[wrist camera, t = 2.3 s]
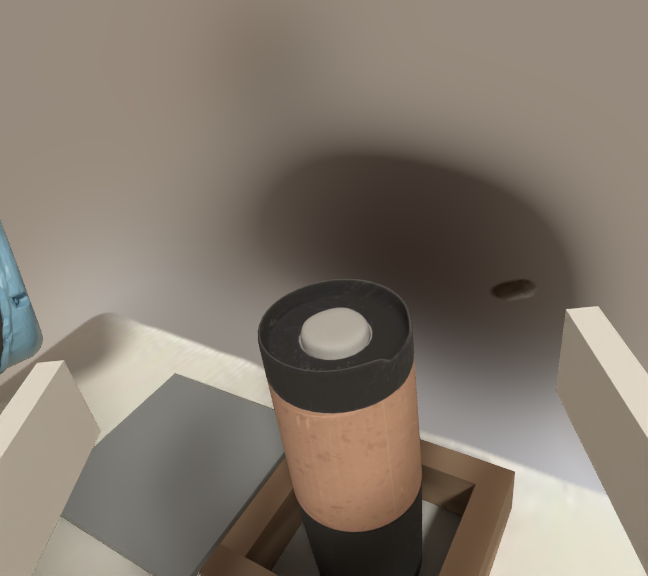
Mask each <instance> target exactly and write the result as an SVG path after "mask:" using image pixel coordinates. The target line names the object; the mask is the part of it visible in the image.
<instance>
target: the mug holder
mask: <svg viewBox="0 0 648 576" xmlns="http://www.w3.org/2000/svg"><path fill="white" fill-rule="evenodd" d="M420 451H421V466H422V499H423V500H425V501H428V502H430V503H433V504H435V505H438V506H440V507H443V508H445V509H448V510H450V511H453V512H455V513H458V514H460V515H463V517H462V519H461V522H460V524H459V527H458V529H457V532H456V534H455V536H454V539H453V541H452V544H451V546H450V549H449V551H448V554H447V556H446V559H445V561H444V564H443V566H442V568H441V571H440V573H439V576H489V574H490V571H491V568H492V565H493V562H494V559H495V556H496V553H497V550H498V547H499V544H500V541H501V538H502V535H503V532H504V529H505V526H506V523H507V520H508V517H509V514H510V511H511V508H512V498H513V487H514V476H515V472H514V471H511V470H509V469H506V468H503V467H500V466H497V465H494V464H491V463H488V462H485V461H482V460H479V459H476V458H474V457H471V456H468V455H465V454H462V453H459V452H456V451H453V450H450V449H447V448H444V447H441V446H438V445H436V444H433V443H430V442H427V441H424V440H421V439H420ZM302 521H303V519H302V515H301V512H300V509H299V506H298V503H297V499H296V496H295V493H294V488H293V484H292V480H291V476H290V472H289V468H288V464H287V459H286V457H285V458H284V459H283V461H282V462H281V463H280V465H279V466H278V467H277V469H276V470H275V471H274V473H273V474H272V475H271V477H270V478H269V479H268V481H267V482H266V483H265V485H264V486H263V487H262V488H261V490H260V491H259V492H258V494H257V495H256V496H255V498H254V499H253V500H252V502H251V503H250V504H249V506H248V507H247V508H246V510H245V511H244V512H243V514H242V515H241V516H240V518H239V519H238V520H237V522H236V523H235V524H234V526H233V527H232V528H231V530H230V531H229V532H228V534H227V535H226V536H225V538H224V539H223V540H222V542H221V543H220V544H219V546H218V547H217V548H216V550H215V551H214V552H213V554H212V555H211V556H210V558H209V559H208V560H207V562H206V563H205V564H204V566H203V567H202V568H201V570H200V571H199V572H200V574H201V576H278V575H276V574H275V573H273V572H271V569H272V568H273V566H274V565H275V563H276V561H277V560H278V558H279V557H280V555H281V554H282V552H283V551H284V549H285V548H286V546H287V545H288V543H289V541H290V540H291V538H292V537H293V535H294V534H295V532H296V531H297V529H298V528H299V526H300V525H301V523H302Z"/></svg>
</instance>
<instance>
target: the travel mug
mask: <svg viewBox="0 0 648 576" xmlns="http://www.w3.org/2000/svg"><path fill="white" fill-rule="evenodd" d="M258 342H259V347H260V352H261V356H262V360H263V364H264V368H265V373H266V377H267V381H268V385H269V389H270V393H271V397H272V401H273V406H274V410H275V414H276V418H277V422H278V426H279V430H280V435H281V439H282V443H283V447H284V451H285V455H286V459H287V464H288V468H289V472H290V476H291V480H292V484H293V488H294V493H295V496H296V499H297V503H298V506H299V509H300V512H301V515H302V519H303V522H304V525H305V528H306V532H307V535H308V538H309V541H310V544H311V548H312V551H313V554H314V557H315V560H316V563H317V566H318V569H319V572H320V575H321V576H418V574H419V571H420V568H421V561H422V466H421V451H420V436H419V423H418V407H417V392H416V376H415V361H414V347H413V331H412V318H411V314H410V311H409V309H408V306H407V305H406V303H405V302H404V300H403V299H402V298H401V297H400V296H399V295H398V294H397V293H395V292H394V291H392V290H391V289H389V288H387V287H385V286H382V285H380V284H377V283H373V282H369V281H365V280H356V279H336V280H328V281H321V282H318V283H313V284H310V285H307V286H304V287H301V288H299V289H296V290H294V291H292V292H290V293H288V294H286V295H285V296H284V297H282V298H280V299H279V300H278V301H276V302H275V303H274V304H273V305H272V306H271V307H270V308H269V309H268V310H267V311H266V313H265V314H264V316H263V317H262V320H261V322H260V325H259V329H258Z"/></svg>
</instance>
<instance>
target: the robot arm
mask: <svg viewBox="0 0 648 576" xmlns="http://www.w3.org/2000/svg"><path fill="white" fill-rule="evenodd" d="M42 340H43V337H42V333H41V329H40V327H39V324H38V321H37V319H36V316H35V313H34V310H33V308H32V305H31V302H30V300H29V297H28V294H27V291H26V288H25V286H24V283H23V280H22V277H21V275H20V271H19V269H18V266H17V263H16V261H15V258H14V255H13V252H12V250H11V247H10V244H9V242H8V239H7V236H6V234H5V231H4V229H3V226H2V223H1V221H0V374H1V373H3V372H4V371H5V370H6V369H7V368H8V367H11V366H13V365H15V364H17V363H19V362H22V361H23V360H26V359H29V358H31V357H32V356H34V355H35V354H36V353H37V352H38V351H39V349H40V348H41V345H42ZM556 392H557V394H558V396H559V398H560V400H561V402H562V404H563V406H564V408H565V410H566V412H567V415H568V417H569V418H570V420H571V423H572V425H573V426H574V429H575V431H576V433H577V434H578V437H579V439H580V441H581V443H582V445H583V447H584V449H585V451H586V453H587V454H588V457H589V459H590V461H591V463H592V465H593V467H594V469H595V471H596V473H597V475H598V477H599V479H600V481H601V483H602V485H603V487H604V489H605V491H606V493H607V495H608V497H609V499H610V501H611V503H612V505H613V507H614V509H615V511H616V513H617V515H618V517H619V519H620V521H621V523H622V525H623V527H624V529H625V531H626V533H627V535H628V537H629V539H630V541H631V543H632V545H633V548H634V550H635V552H636V554H637V556H638V558H639V560H640V562H641V564H642V566H643V568H644V570H645V572H646V574H647V576H648V374H647V373H646V371H645V370H644V369H643V368H642V366H641V365H640V363H639V362H638V361H637V359H636V358H635V356H634V355H633V354H632V352H631V351H630V350H629V348H628V347H627V345H626V344H625V343H624V341H623V340H622V339H621V337H620V336H619V334H618V333H617V332H616V330H615V329H614V327H613V326H612V325H611V323H610V322H609V321H608V319H607V318H606V316H605V315H604V314H603V312H602V311H601V310H600V308H599V307H598V306H597V307H586V308H576V309H566V315H565V323H564V331H563V338H562V347H561V354H560V362H559V370H558V378H557V386H556ZM99 433H100V429H99V427H98V425H97V423H96V421H95V419H94V417H93V416H92V414H91V412H90V410H89V408H88V406H87V404H86V402H85V400H84V398H83V396H82V394H81V392H80V390H79V388H78V386H77V385H76V383H75V381H74V379H73V377H72V375H71V373H70V371H69V369H68V367H67V365H66V363H65V361H64V360H60V361H50V362H40V363H37V364H36V365H35V366H34V368H33V369H32V371H31V372H30V374H29V375H28V376H27V378H26V379H25V381H24V382H23V383H22V385H21V386H20V388H19V389H18V391H17V392H16V393H15V395H14V396H13V398H12V399H11V400H10V402H9V403H8V405H7V406H6V408H5V409H4V410H3V412H2V413H1V415H0V576H32V574H33V572H34V570H35V568H36V566H37V564H38V562H39V559H40V557H41V555H42V553H43V551H44V549H45V547H46V545H47V543H48V541H49V538H50V536H51V534H52V532H53V530H54V528H55V526H56V524H57V522H58V520H59V517H60V515H61V513H62V511H63V509H64V507H65V505H66V503H67V501H68V499H69V496H70V494H71V492H72V490H73V488H74V486H75V484H76V482H77V480H78V478H79V475H80V473H81V471H82V469H83V467H84V465H85V463H86V461H87V459H88V457H89V454H90V452H91V450H92V448H93V446H94V444H95V442H96V440H97V438H98V436H99Z"/></svg>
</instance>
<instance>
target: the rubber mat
mask: <svg viewBox="0 0 648 576" xmlns="http://www.w3.org/2000/svg"><path fill="white" fill-rule="evenodd" d="M285 457H286V455H285V451H284V447H283V443H282V439H281V435H280V430H279V426H278V422H277V418H276V414H275V410H274V409H271V408H268V407H265V406H263V405H260V404H257V403H255V402H252V401H249V400H246V399H244V398H241V397H238V396H235V395H233V394H230V393H227V392H224V391H222V390H219V389H216V388H214V387H211V386H208V385H205V384H203V383H200V382H197V381H194V380H192V379H189V378H186V377H183V376H181V375H178V374H174V375H173V376H172V377H171V378H169V379H168V380H167V381H166V382H165V383H164V384H163V385H162V386H161V387H160V388H158V389H157V390H156V391H155V392H154V393H153V394H152V395H151V396H150V397H149V398H147V399H146V400H145V401H144V402H143V403H142V404H141V405H140V406H139V407H138V408H136V409H135V410H134V411H133V412H132V413H131V414H130V415H129V416H128V417H127V418H125V419H124V420H123V421H122V422H121V423H120V424H119V425H118V426H117V427H116V428H114V429H113V430H112V431H111V432H110V433H109V434H108V435H107V436H106V437H105V438H103V439H102V440H101V441H100V442H99V443H98V444H97V445H96V446H95V447H94V448H92V450H91V452H90V454H89V457H88V459H87V461H86V463H85V465H84V467H83V469H82V471H81V473H80V475H79V478H78V480H77V482H76V484H75V486H74V488H73V490H72V492H71V494H70V496H69V499H68V501H67V503H66V505H65V507H64V509H63V511H62V513H61V515H60V516H61V517H63V518H65V519H66V520H68V521H69V522H71V523H72V524H74V525H75V526H77V527H79V528H80V529H82V530H83V531H85V532H86V533H88V534H89V535H91V536H93V537H94V538H96V539H97V540H99V541H100V542H102V543H104V544H105V545H107V546H108V547H110V548H111V549H113V550H114V551H116V552H118V553H119V554H121V555H122V556H124V557H125V558H127V559H128V560H130V561H132V562H133V563H135V564H136V565H138V566H139V567H141V568H143V569H144V570H146V571H147V572H149V573H150V574H152V575H153V576H196V575H197V573H198V572H199V571H200V569H201V568H202V567H203V566H204V564H205V563H206V562H207V560H208V559H209V558H210V556H211V555H212V554H213V552H214V551H215V550H216V548H217V547H218V546H219V544H220V543H221V542H222V540H223V539H224V538H225V536H226V535H227V534H228V532H229V531H230V530H231V528H232V527H233V526H234V524H235V523H236V522H237V520H238V519H239V518H240V516H241V515H242V514H243V512H244V511H245V510H246V508H247V507H248V506H249V504H250V503H251V502H252V500H253V499H254V498H255V496H256V495H257V494H258V492H259V491H260V490H261V488H262V487H263V486H264V484H265V483H266V482H267V480H268V479H269V478H270V476H271V475H272V474H273V473H274V471H275V470H276V469H277V467H278V466H279V465H280V463H281V462H282V461H283V459H284V458H285Z"/></svg>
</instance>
